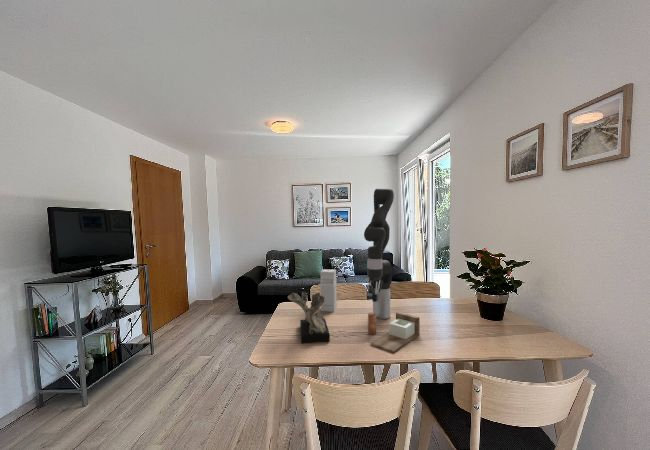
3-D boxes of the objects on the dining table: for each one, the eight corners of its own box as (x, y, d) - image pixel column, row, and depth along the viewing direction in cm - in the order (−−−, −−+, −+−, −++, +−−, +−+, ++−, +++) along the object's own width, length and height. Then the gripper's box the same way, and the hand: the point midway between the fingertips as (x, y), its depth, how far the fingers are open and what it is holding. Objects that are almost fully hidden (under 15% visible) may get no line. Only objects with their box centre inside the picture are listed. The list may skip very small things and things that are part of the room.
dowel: (366, 333, 144) (366, 313, 144) (371, 330, 147) (370, 311, 147) (373, 335, 141) (373, 315, 141) (377, 333, 144) (377, 313, 144)
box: (336, 307, 186) (336, 269, 185) (334, 311, 177) (333, 272, 177) (324, 306, 187) (323, 269, 187) (321, 310, 179) (320, 271, 178)
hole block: (389, 334, 140) (389, 323, 140) (398, 328, 146) (398, 318, 146) (405, 339, 133) (405, 328, 133) (414, 333, 140) (414, 322, 140)
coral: (330, 345, 132) (329, 299, 131) (286, 347, 130) (285, 301, 129) (326, 324, 156) (325, 286, 156) (289, 326, 155) (288, 287, 154)
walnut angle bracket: (370, 345, 131) (370, 325, 131) (397, 328, 149) (397, 311, 149) (393, 353, 123) (393, 332, 122) (419, 335, 141) (419, 317, 140)
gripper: (375, 264, 149) (375, 296, 150) (361, 268, 139) (361, 302, 140) (388, 266, 144) (388, 299, 145) (374, 270, 134) (373, 306, 135)
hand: (374, 301), depth 143 cm, fingers closed
